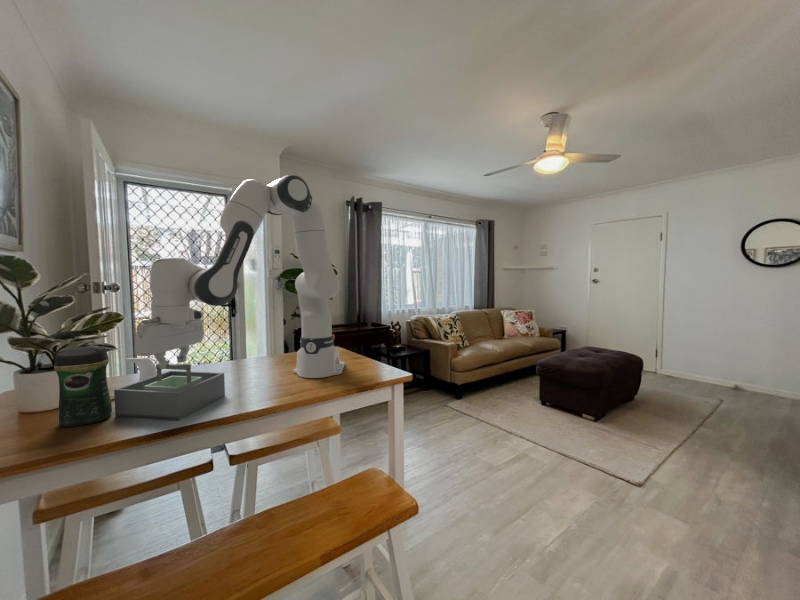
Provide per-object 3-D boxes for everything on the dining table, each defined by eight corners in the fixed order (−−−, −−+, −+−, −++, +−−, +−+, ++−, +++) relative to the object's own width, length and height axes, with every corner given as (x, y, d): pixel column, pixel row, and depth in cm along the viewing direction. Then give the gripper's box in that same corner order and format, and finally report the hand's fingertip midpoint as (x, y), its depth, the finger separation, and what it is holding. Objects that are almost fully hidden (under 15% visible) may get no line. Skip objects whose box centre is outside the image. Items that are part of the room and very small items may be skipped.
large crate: (171, 392, 104) (170, 370, 103) (224, 395, 101) (224, 373, 101) (115, 416, 86) (114, 389, 85) (178, 420, 84) (177, 393, 83)
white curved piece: (127, 398, 98) (125, 358, 98) (142, 391, 105) (141, 354, 104) (142, 398, 99) (141, 358, 98) (157, 391, 105) (155, 354, 104)
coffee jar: (115, 411, 89) (112, 342, 88) (105, 422, 82) (101, 348, 81) (67, 417, 85) (63, 345, 84) (52, 430, 78) (47, 352, 77)
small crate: (173, 395, 99) (171, 359, 98) (202, 397, 98) (201, 361, 97) (144, 407, 89) (142, 368, 89) (177, 409, 88) (175, 369, 88)
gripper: (148, 320, 81) (151, 376, 82) (207, 312, 102) (208, 356, 102) (125, 320, 82) (128, 374, 83) (188, 311, 102) (189, 355, 103)
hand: (173, 364), depth 93 cm, fingers open, 5 cm apart
